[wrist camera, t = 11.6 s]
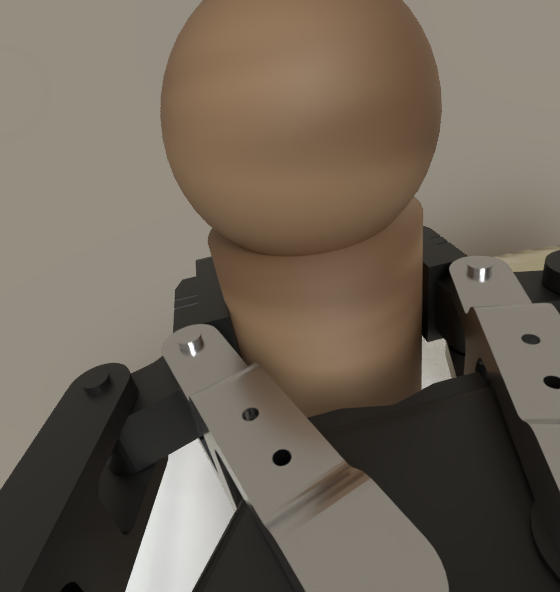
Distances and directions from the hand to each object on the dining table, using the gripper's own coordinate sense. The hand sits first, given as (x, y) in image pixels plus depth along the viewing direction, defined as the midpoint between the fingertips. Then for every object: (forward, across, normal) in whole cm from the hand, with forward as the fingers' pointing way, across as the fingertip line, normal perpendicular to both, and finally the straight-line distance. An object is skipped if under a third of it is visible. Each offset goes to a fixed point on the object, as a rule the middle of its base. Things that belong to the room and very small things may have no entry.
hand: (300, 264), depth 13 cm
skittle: (-3, 0, +8) cm, 9 cm away
